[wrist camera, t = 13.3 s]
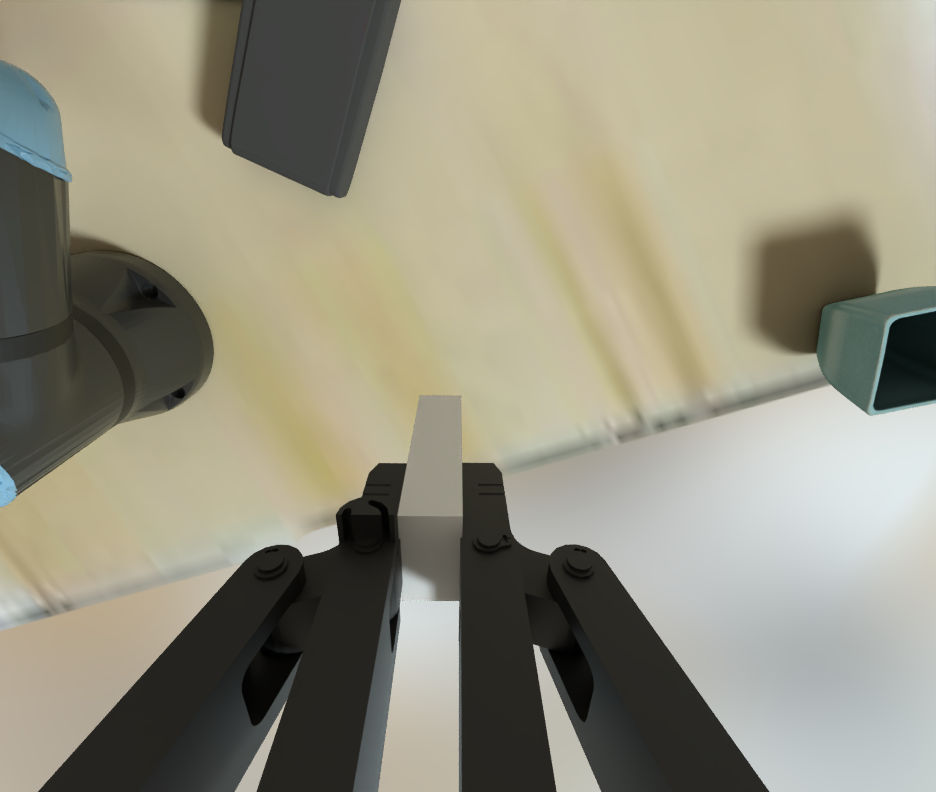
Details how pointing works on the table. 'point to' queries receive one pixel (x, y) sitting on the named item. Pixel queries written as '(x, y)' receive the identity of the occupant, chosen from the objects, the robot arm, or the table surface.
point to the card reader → (307, 86)
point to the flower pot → (881, 349)
